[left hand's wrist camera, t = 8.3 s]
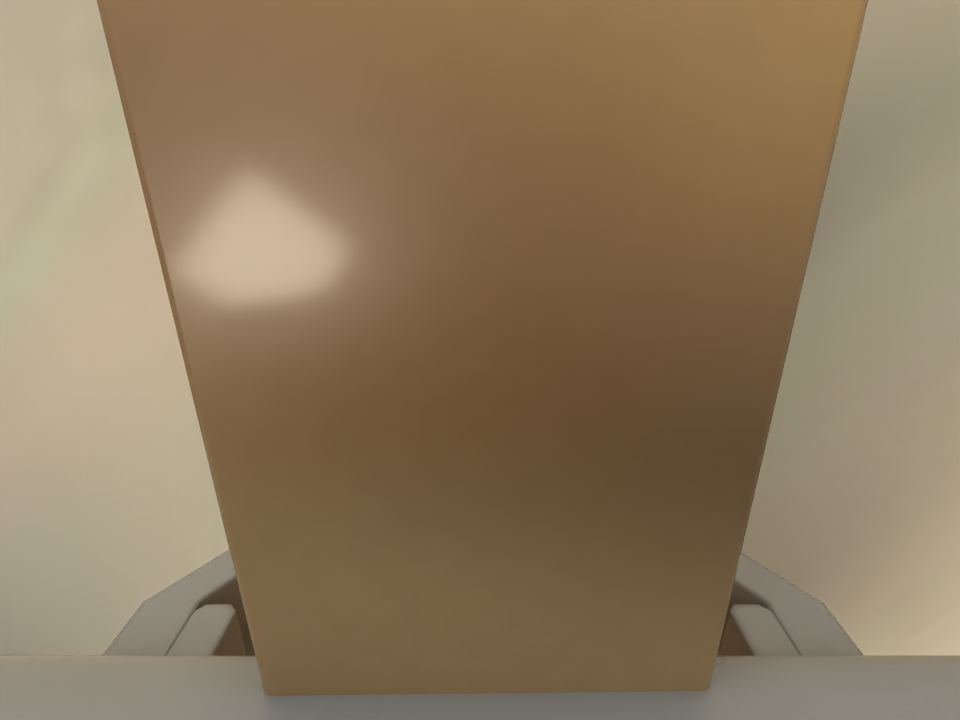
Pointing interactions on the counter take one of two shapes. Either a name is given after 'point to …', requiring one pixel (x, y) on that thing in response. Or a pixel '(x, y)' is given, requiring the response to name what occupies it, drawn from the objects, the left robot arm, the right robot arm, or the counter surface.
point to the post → (484, 315)
